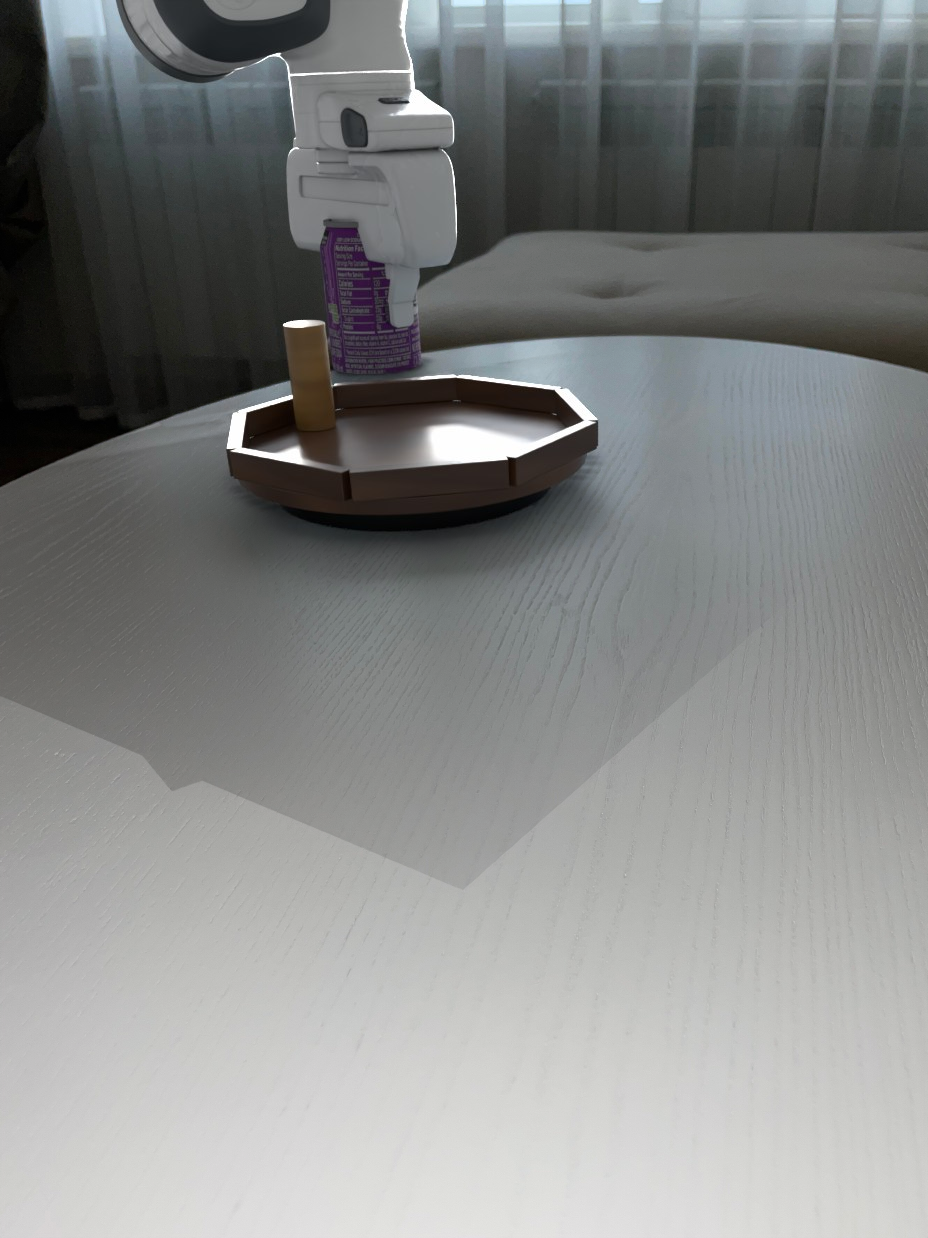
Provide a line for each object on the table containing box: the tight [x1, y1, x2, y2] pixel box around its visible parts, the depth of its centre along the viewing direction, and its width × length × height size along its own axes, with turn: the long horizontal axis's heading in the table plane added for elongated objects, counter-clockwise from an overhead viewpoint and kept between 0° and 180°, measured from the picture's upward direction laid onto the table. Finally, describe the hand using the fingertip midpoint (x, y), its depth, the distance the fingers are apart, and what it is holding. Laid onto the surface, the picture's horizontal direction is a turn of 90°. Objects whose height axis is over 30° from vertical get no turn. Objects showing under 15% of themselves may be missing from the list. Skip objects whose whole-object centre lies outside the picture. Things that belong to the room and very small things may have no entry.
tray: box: [225, 319, 599, 515], centre depth 62 cm, size 20×20×7 cm
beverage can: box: [319, 219, 422, 375], centre depth 86 cm, size 7×7×12 cm
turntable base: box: [278, 487, 552, 533], centre depth 64 cm, size 16×16×2 cm
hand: (374, 319), depth 87 cm, fingers closed on beverage can, 7 cm apart
